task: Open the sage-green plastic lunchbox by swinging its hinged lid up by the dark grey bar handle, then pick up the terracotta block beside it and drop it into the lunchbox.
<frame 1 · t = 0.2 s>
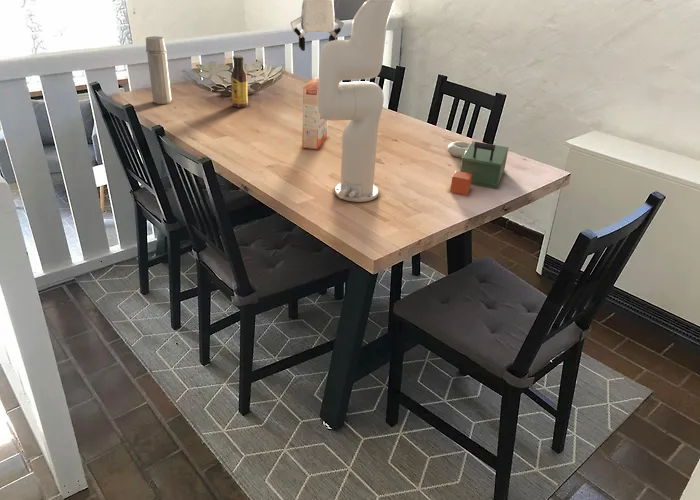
hand: (316, 49, 186), 31 cm above the table, tool pointing down, fingers open, 9 cm apart
cracker box: (315, 143, 200), on the table
water bottle: (162, 103, 232), on the table
sauce bottle: (240, 106, 234), on the table
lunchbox: (482, 176, 181), on the table
block: (460, 190, 170), on the table
donut: (461, 154, 197), on the table
lid: (487, 146, 175), point 10 cm above the table, hinge at 0.0°
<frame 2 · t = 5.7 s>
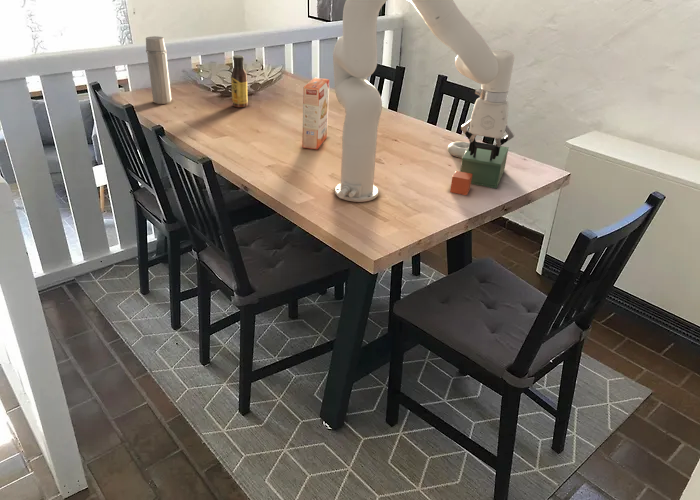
hand: (483, 155, 171), 9 cm above the table, tool pointing down, fingers closed on lid, 6 cm apart
lid: (487, 146, 175), point 10 cm above the table, hinge at 0.0°, touching gripper
everything else where it was.
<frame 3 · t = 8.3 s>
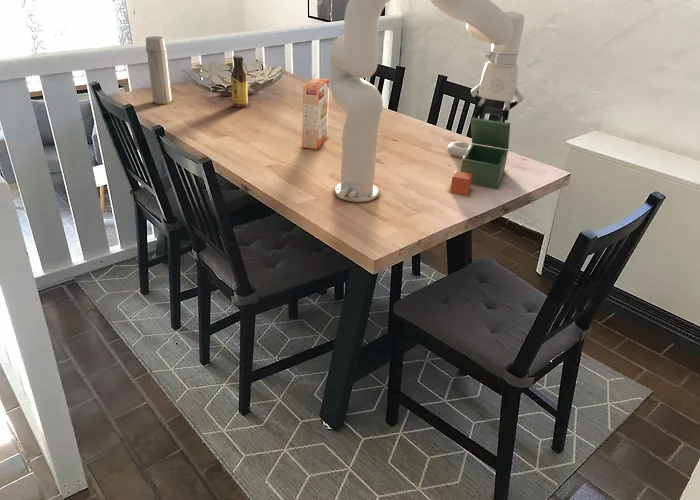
hand: (492, 119, 172), 18 cm above the table, tool pointing down, fingers closed on lid, 6 cm apart
lid: (492, 126, 176), point 15 cm above the table, hinge at 43.3°, touching gripper
everything else where it was.
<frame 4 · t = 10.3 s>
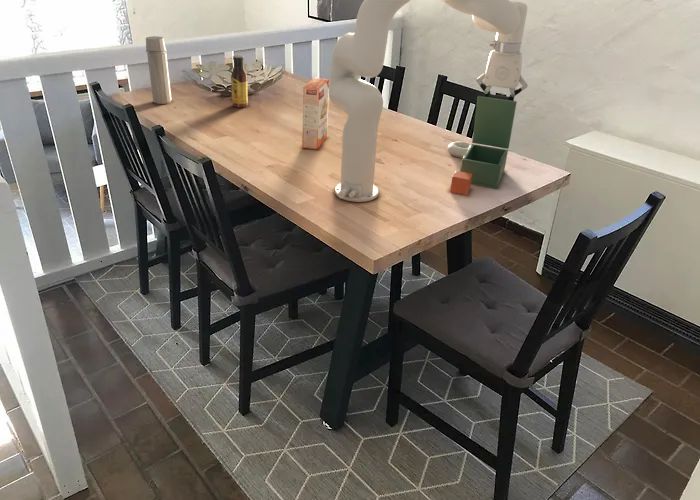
hand: (497, 106, 178), 20 cm above the table, tool pointing down, fingers closed on lid, 6 cm apart
lid: (495, 119, 179), point 16 cm above the table, hinge at 75.6°, touching gripper
everything else where it was.
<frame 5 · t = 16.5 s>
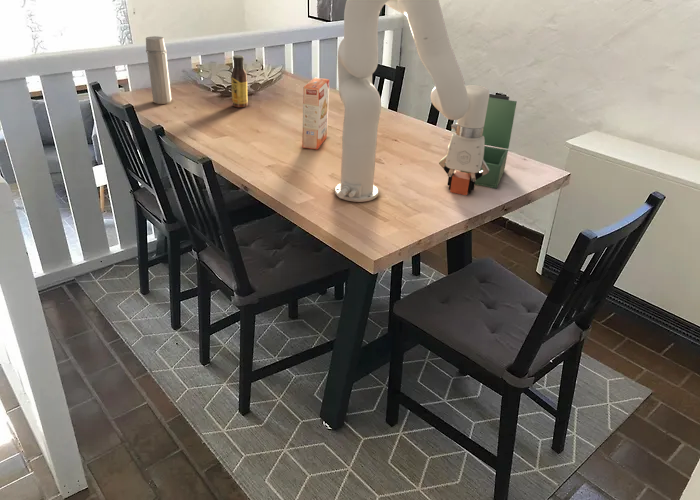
hand: (460, 189, 170), 0 cm above the table, tool pointing down, fingers closed on block, 5 cm apart
block: (460, 190, 170), on the table, touching gripper
lid: (495, 119, 179), point 16 cm above the table, hinge at 75.8°
everything else where it was.
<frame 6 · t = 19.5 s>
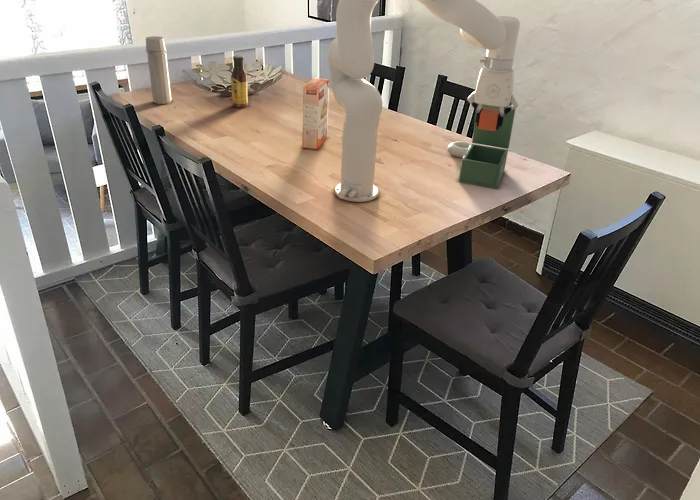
hand: (488, 126, 170), 17 cm above the table, tool pointing down, fingers closed on block, 5 cm apart
block: (488, 127, 170), point 17 cm above the table, touching gripper
everything else where it was.
when the fingers open (6 cm above the table, at t = 22.7 s): block drops 5 cm, resting on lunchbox.
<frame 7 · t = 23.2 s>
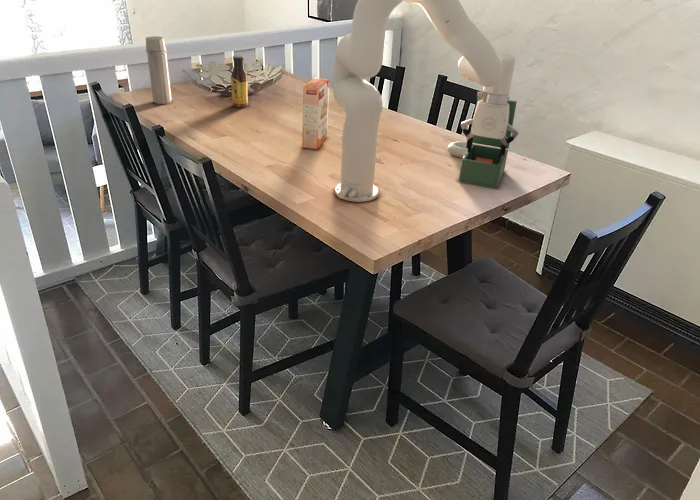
hand: (484, 153, 175), 8 cm above the table, tool pointing down, fingers open, 9 cm apart
block: (481, 176, 179), point 1 cm above the table, touching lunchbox
everything else where it was.
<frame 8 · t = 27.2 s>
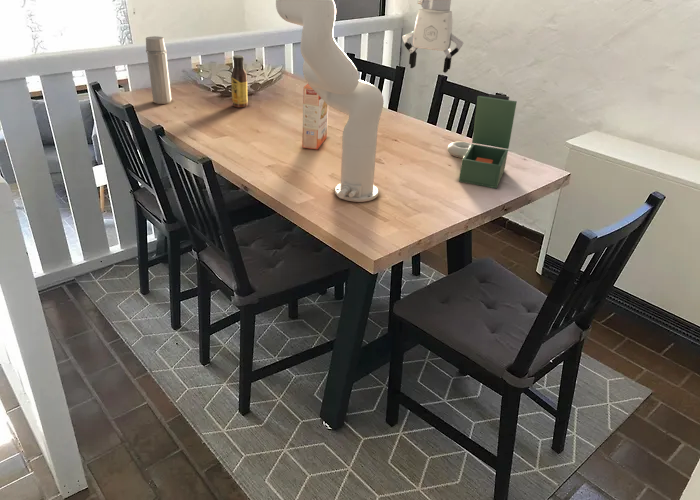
hand: (429, 69, 163), 32 cm above the table, tool pointing down, fingers open, 9 cm apart
nothing on the table moved.
at the end: lid at +76° (first picture: +0°); block inside the target area in the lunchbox (2.0 cm from its centre), point 0.8 cm above the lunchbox's base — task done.
